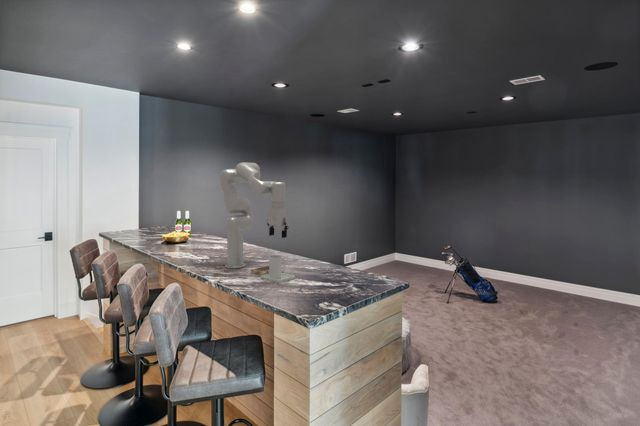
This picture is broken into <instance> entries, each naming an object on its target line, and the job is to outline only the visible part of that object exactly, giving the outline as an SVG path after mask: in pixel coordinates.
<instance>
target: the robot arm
mask: <svg viewBox="0 0 640 426" xmlns="http://www.w3.org/2000/svg"><path fill="white" fill-rule="evenodd" d="M261 177H262V176H261V168H260V166H259V165H258V164H257V163H255V162H246V161H245V162H243V161H242V162H240V163H238V164H236V166H235V168H227V169H223V170H222V171H221V172H220V174H219V183H220V187H221V190H222V192H223V193H222V194H223V200H224V207H225V210H226V212H227V213H228V214H234V215H230V216H228V217H227V218H226V219H225V230H226V238H227V245H226V247H227V250H226V251H227V258H225V259H224V261H225V262H226V263H225V265H224V267H225V268H227V269H241V268H245V267H246V266H247V264H246V263H245V262H244V237H243V235H242V233H241V231H247V230H251V229H252V228H253V226H254V216H253V210H252V204H251V202H250V200H249V199H248V198H246V197H239V194H238V193H239V192H238V190H237V187H236V186H235V185H234V184H244V183H247V184H248V185H247V186H248V188H249V190H250V191H252V192H253V193H254V194H256V195H259V196H270V197H271V198H270V207H269V212H268V218H267V219H266V225H267V226H268V230H269V231H268V232H269V233H268V235H269V236H270V237H271V236H275V227H278V228H279V227H280V228H281V229H282V230H281V238H282V239H284V238H285V239H286V238H287V237H288V235H287V234H288V230H289V229H290V225H291V222H290V221H289V220H288V217H287V216H288V214H287V208H286V183H285V182H284V181H272V180H271V181H270V180H267V181H266V180H261ZM235 214H237V215H235Z"/></svg>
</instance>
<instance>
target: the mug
mask: <svg viewBox="0 0 640 426" xmlns="http://www.w3.org/2000/svg"><path fill="white" fill-rule="evenodd" d="M282 261H283V267H282ZM286 262H287V261H286V259H285V257H284V256H282V255H279V254H272V255H269V256H268V266H269V270H268V271H269V276H270V278H274V279H280V278H281V273H284V272H285V269H286V266H287V263H286ZM281 268H282V269H281Z"/></svg>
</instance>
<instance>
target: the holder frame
mask: <svg viewBox="0 0 640 426" xmlns="http://www.w3.org/2000/svg"><path fill="white" fill-rule="evenodd" d="M282 268H283V267H281V269H282ZM250 271H251V274H252V275H257V276H260V277H261V276H262V275H266V274H269V265H264V266H261V267H256V268H252V269H251V270H250Z"/></svg>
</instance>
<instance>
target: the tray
mask: <svg viewBox="0 0 640 426" xmlns="http://www.w3.org/2000/svg"><path fill="white" fill-rule="evenodd" d="M260 278H261V280H265V281H269V282H273V283H276V284H282V283H285V282H288V281H292V280H295V279H296V276H295V275H293V274H288V273H284V272H281V278H280V279H274V278H270V276H269V274H266V275H262V276H260Z"/></svg>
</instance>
